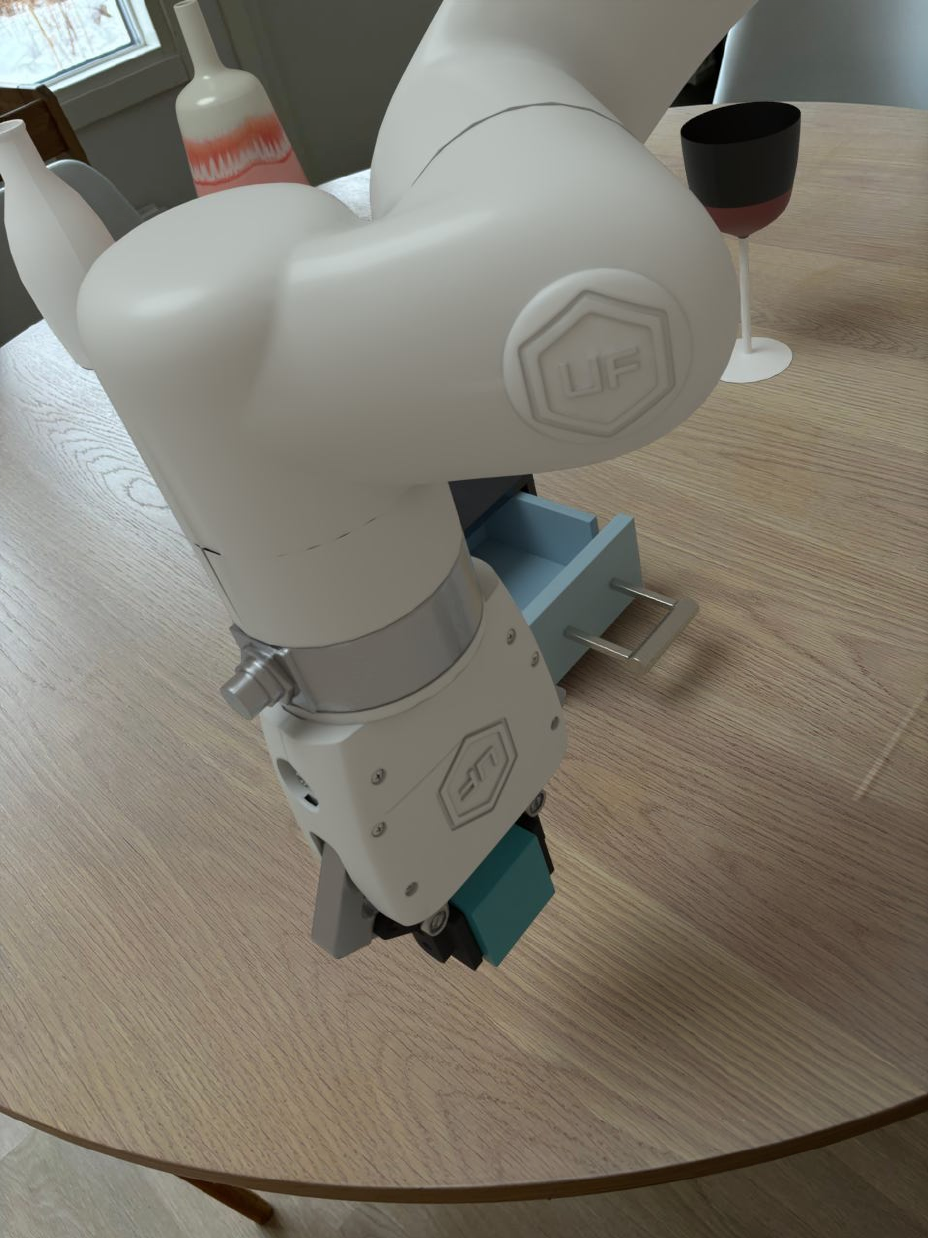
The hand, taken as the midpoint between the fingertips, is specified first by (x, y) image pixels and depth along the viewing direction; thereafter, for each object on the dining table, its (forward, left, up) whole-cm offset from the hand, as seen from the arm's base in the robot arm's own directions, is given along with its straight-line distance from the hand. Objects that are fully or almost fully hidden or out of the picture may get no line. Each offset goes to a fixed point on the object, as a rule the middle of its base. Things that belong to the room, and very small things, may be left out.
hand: (488, 902), depth 44 cm
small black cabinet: (+13, -33, -10) cm, 36 cm away
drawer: (+2, -27, -9) cm, 28 cm away
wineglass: (-11, -60, -10) cm, 62 cm away
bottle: (+61, -76, -10) cm, 98 cm away
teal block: (0, 0, 0) cm, 0 cm away
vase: (+45, -93, -10) cm, 103 cm away
